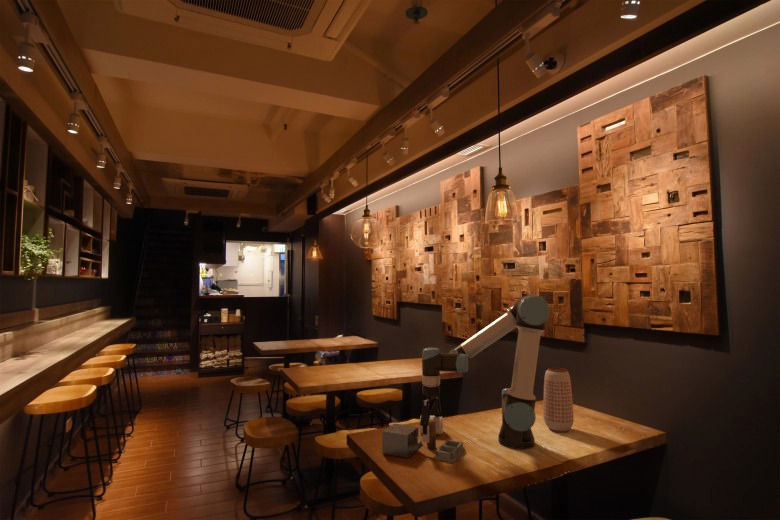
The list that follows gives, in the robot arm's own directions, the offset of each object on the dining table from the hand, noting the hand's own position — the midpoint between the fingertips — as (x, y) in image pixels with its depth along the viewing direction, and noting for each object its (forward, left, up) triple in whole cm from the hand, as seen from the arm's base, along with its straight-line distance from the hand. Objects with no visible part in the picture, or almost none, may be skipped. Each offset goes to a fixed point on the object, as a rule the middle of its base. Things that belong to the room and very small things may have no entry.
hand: (431, 437), depth 178 cm
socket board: (-9, +3, -4) cm, 10 cm away
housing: (+10, +9, -4) cm, 14 cm away
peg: (0, 0, -4) cm, 4 cm away
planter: (-46, -49, -5) cm, 67 cm away
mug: (+7, -19, -5) cm, 21 cm away
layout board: (+10, +2, -4) cm, 11 cm away
